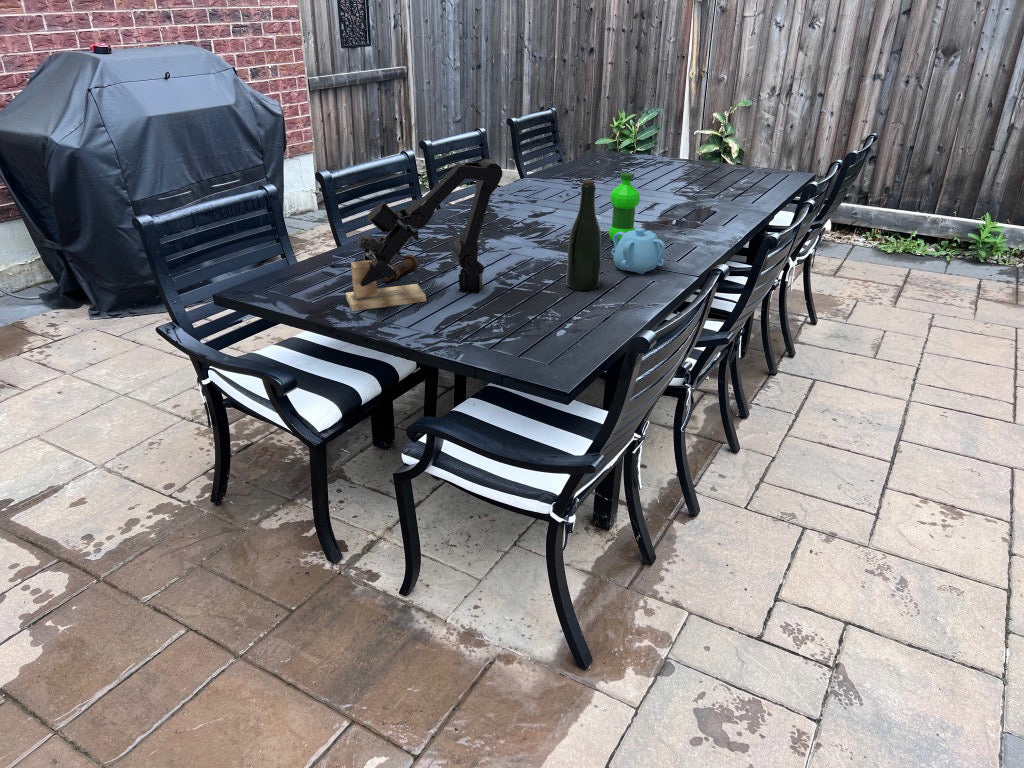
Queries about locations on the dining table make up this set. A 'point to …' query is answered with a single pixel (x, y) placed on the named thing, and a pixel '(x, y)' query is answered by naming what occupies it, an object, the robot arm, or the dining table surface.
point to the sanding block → (358, 274)
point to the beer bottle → (585, 244)
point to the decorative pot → (638, 251)
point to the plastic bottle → (623, 206)
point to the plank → (388, 297)
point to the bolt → (404, 267)
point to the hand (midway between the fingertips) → (359, 282)
